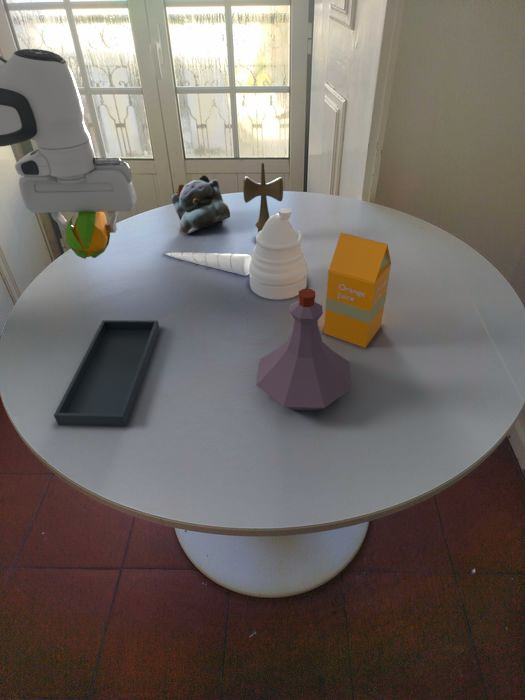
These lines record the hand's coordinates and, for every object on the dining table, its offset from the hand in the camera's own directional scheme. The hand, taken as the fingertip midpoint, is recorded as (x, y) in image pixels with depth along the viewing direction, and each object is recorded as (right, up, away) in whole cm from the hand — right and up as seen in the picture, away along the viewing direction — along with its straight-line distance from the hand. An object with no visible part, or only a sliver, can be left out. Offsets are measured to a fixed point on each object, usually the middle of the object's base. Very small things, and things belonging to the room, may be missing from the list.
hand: (90, 231), depth 91 cm
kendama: (+34, +5, +32) cm, 47 cm away
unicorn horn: (+20, -3, +22) cm, 31 cm away
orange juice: (+51, -19, +2) cm, 55 cm away
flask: (+40, -30, -11) cm, 52 cm away
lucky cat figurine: (+17, +11, +40) cm, 44 cm away
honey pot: (+37, -8, +15) cm, 41 cm away
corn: (0, -2, +2) cm, 3 cm away
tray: (+7, -27, -6) cm, 29 cm away
